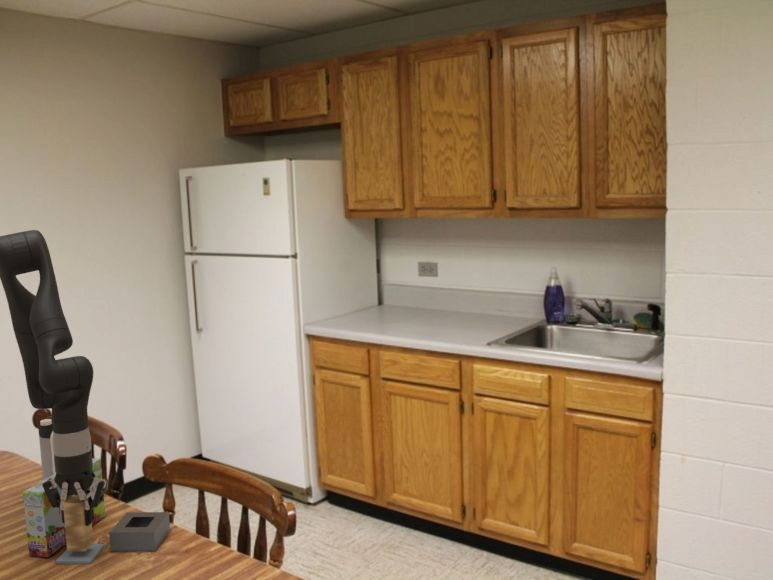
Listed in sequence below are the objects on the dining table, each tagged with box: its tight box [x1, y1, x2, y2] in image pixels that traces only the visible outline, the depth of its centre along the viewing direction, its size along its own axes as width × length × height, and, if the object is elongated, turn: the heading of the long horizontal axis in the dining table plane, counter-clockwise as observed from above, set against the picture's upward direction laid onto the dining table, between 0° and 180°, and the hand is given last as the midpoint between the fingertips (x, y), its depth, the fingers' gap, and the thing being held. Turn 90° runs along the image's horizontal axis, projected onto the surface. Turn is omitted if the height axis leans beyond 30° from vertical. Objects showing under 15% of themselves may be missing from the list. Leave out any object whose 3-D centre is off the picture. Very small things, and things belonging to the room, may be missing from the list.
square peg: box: [63, 495, 94, 551], centre depth 156 cm, size 4×4×11 cm
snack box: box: [22, 457, 107, 558], centre depth 166 cm, size 21×6×15 cm, turn 168°
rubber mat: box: [55, 543, 106, 565], centre depth 157 cm, size 8×8×1 cm
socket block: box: [109, 511, 171, 553], centre depth 163 cm, size 10×10×4 cm
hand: (78, 524), depth 156 cm, fingers closed on square peg, 3 cm apart
